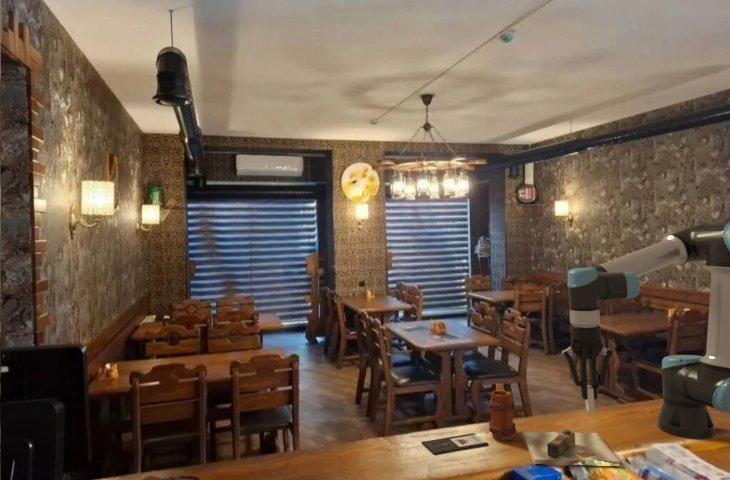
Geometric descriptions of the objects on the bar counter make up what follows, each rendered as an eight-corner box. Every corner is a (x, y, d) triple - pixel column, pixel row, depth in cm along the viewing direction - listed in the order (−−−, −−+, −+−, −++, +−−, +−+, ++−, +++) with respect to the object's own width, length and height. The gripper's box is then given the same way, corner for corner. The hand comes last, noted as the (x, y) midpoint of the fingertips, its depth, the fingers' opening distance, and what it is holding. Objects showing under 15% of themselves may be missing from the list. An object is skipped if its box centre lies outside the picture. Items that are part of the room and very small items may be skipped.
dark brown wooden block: (562, 440, 151) (561, 427, 151) (577, 443, 148) (577, 430, 148) (544, 455, 141) (543, 441, 141) (560, 459, 138) (559, 445, 138)
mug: (517, 444, 153) (516, 394, 153) (489, 443, 155) (488, 394, 155) (513, 426, 167) (512, 381, 167) (488, 425, 169) (486, 380, 169)
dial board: (596, 437, 156) (596, 432, 156) (619, 466, 136) (619, 460, 136) (522, 436, 159) (522, 431, 159) (534, 464, 139) (534, 458, 139)
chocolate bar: (421, 441, 157) (473, 433, 162) (421, 444, 157) (473, 436, 162) (433, 453, 148) (488, 443, 153) (434, 456, 148) (488, 446, 153)
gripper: (605, 321, 142) (610, 405, 142) (557, 323, 144) (562, 406, 144) (615, 326, 135) (620, 415, 135) (563, 328, 136) (569, 416, 137)
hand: (590, 410), depth 139 cm, fingers closed
